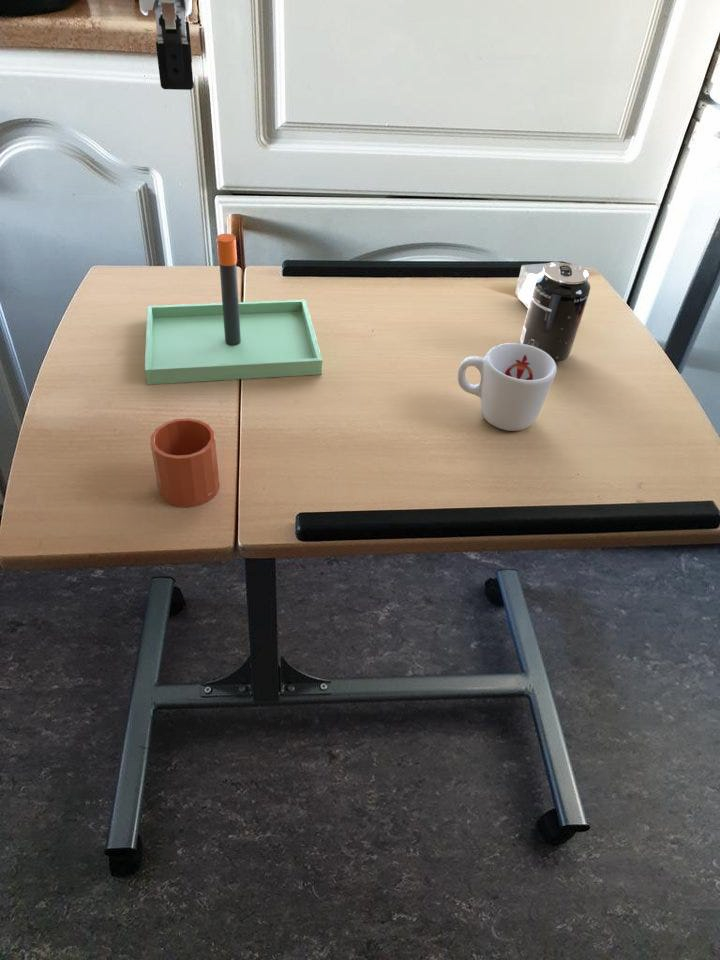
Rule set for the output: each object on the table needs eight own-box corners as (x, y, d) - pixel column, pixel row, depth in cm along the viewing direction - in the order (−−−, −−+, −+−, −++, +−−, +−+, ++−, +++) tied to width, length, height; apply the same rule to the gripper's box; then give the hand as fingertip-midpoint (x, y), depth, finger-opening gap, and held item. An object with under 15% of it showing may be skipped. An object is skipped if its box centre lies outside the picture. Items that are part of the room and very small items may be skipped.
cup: (442, 420, 83) (453, 363, 77) (461, 385, 88) (472, 329, 83) (532, 446, 80) (550, 389, 75) (546, 408, 86) (563, 352, 80)
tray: (146, 384, 84) (144, 370, 83) (149, 319, 95) (147, 305, 94) (322, 374, 88) (322, 360, 87) (305, 313, 99) (305, 299, 97)
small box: (547, 291, 108) (555, 261, 105) (564, 309, 104) (573, 279, 101) (513, 293, 107) (520, 263, 104) (529, 312, 103) (537, 281, 100)
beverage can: (566, 344, 97) (591, 263, 89) (570, 372, 92) (596, 288, 84) (517, 338, 98) (537, 256, 89) (517, 365, 93) (539, 280, 84)
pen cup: (159, 510, 69) (150, 460, 65) (159, 469, 74) (151, 420, 69) (220, 504, 70) (216, 455, 66) (217, 464, 75) (213, 416, 70)
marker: (224, 346, 90) (216, 241, 81) (224, 337, 92) (215, 233, 82) (242, 345, 91) (236, 241, 81) (240, 336, 92) (234, 233, 83)
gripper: (118, -148, 68) (143, 54, 80) (105, -139, 56) (137, 99, 67) (197, -141, 69) (210, 56, 81) (201, -132, 57) (216, 100, 69)
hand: (177, 75), depth 74 cm, fingers open, 9 cm apart
